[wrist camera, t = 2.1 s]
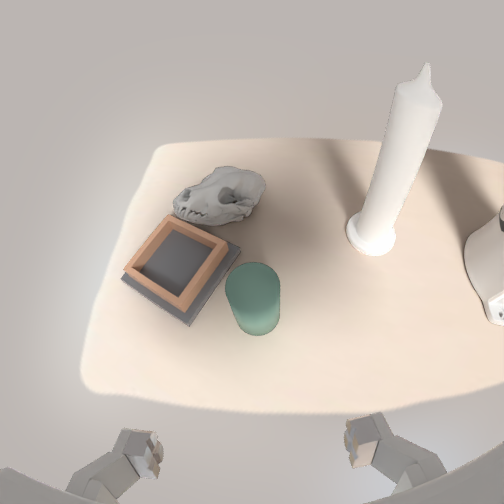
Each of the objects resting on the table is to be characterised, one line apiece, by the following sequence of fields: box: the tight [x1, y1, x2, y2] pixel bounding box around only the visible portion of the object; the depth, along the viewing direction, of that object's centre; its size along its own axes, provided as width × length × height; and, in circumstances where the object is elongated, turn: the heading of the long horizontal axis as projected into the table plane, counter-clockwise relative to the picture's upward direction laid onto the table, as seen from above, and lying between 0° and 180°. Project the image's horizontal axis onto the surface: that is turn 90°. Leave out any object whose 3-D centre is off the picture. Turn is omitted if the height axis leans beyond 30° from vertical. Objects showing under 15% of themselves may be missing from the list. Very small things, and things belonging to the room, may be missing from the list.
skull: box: [173, 166, 266, 226], centre depth 39 cm, size 8×9×12 cm
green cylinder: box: [225, 262, 280, 336], centre depth 30 cm, size 5×5×8 cm
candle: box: [346, 62, 442, 256], centre depth 27 cm, size 7×7×25 cm
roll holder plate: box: [121, 214, 241, 326], centre depth 36 cm, size 12×12×3 cm
